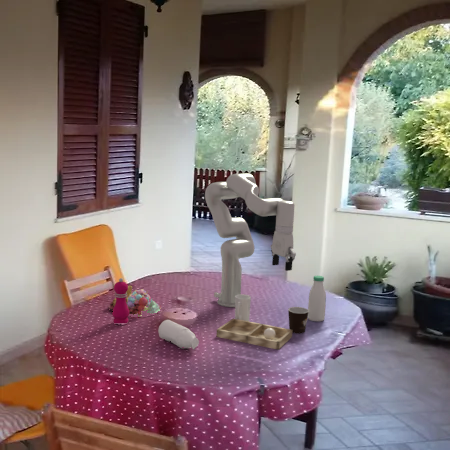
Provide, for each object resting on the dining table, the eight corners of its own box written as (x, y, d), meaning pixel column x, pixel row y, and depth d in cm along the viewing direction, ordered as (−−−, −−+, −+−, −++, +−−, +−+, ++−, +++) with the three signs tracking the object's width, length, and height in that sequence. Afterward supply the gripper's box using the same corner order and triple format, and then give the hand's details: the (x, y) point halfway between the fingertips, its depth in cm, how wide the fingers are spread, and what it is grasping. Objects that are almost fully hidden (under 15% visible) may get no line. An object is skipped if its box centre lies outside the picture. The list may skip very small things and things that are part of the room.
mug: (237, 319, 265) (238, 293, 263) (251, 321, 262) (252, 295, 260) (229, 326, 256) (230, 299, 253) (243, 328, 253) (245, 302, 251)
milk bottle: (324, 322, 265) (327, 279, 261) (306, 320, 266) (309, 278, 263) (324, 317, 272) (327, 275, 268) (308, 315, 274) (310, 273, 270)
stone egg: (261, 340, 238) (262, 329, 237) (265, 336, 243) (266, 325, 242) (272, 342, 236) (273, 331, 235) (276, 338, 241) (277, 327, 240)
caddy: (216, 338, 241) (216, 329, 240) (232, 326, 255) (233, 318, 254) (278, 351, 230) (279, 342, 229) (292, 338, 244) (292, 329, 243)
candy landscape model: (99, 312, 268) (99, 292, 266) (126, 298, 290) (126, 280, 288) (147, 321, 259) (147, 301, 257) (172, 306, 281) (172, 287, 279)
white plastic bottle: (186, 355, 223) (187, 335, 221) (157, 340, 236) (157, 321, 235) (203, 350, 228) (203, 331, 226) (173, 336, 242) (173, 317, 240)
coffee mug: (294, 337, 245) (295, 314, 243) (283, 330, 253) (284, 308, 251) (317, 333, 251) (318, 311, 249) (305, 327, 258) (306, 305, 256)
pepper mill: (132, 322, 256) (133, 277, 253) (122, 327, 250) (123, 281, 246) (118, 319, 259) (118, 275, 256) (108, 324, 253) (108, 278, 249)
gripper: (265, 226, 261) (263, 263, 264) (289, 233, 246) (286, 273, 250) (279, 225, 265) (277, 262, 268) (303, 232, 250) (300, 271, 253)
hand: (281, 267), depth 259 cm, fingers open, 9 cm apart
